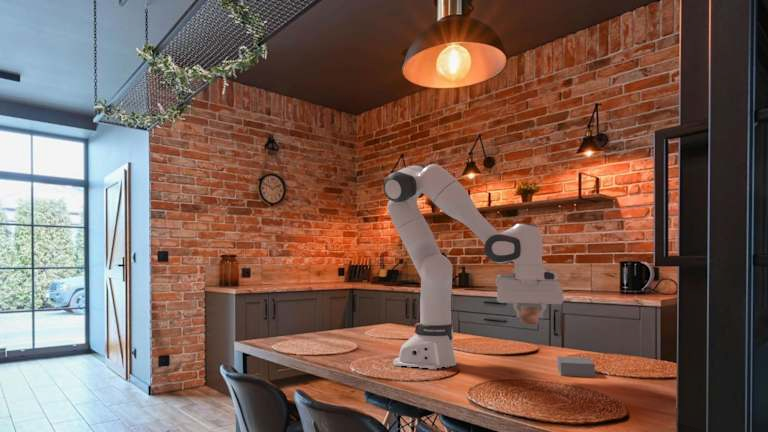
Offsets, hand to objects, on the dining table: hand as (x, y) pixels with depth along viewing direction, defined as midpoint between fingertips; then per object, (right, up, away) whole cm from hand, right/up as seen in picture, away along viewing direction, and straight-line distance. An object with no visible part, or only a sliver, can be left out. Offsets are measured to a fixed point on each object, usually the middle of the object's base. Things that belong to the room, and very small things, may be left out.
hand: (529, 317), depth 154 cm
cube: (0, -2, 0) cm, 2 cm away
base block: (+16, -19, +4) cm, 25 cm away
